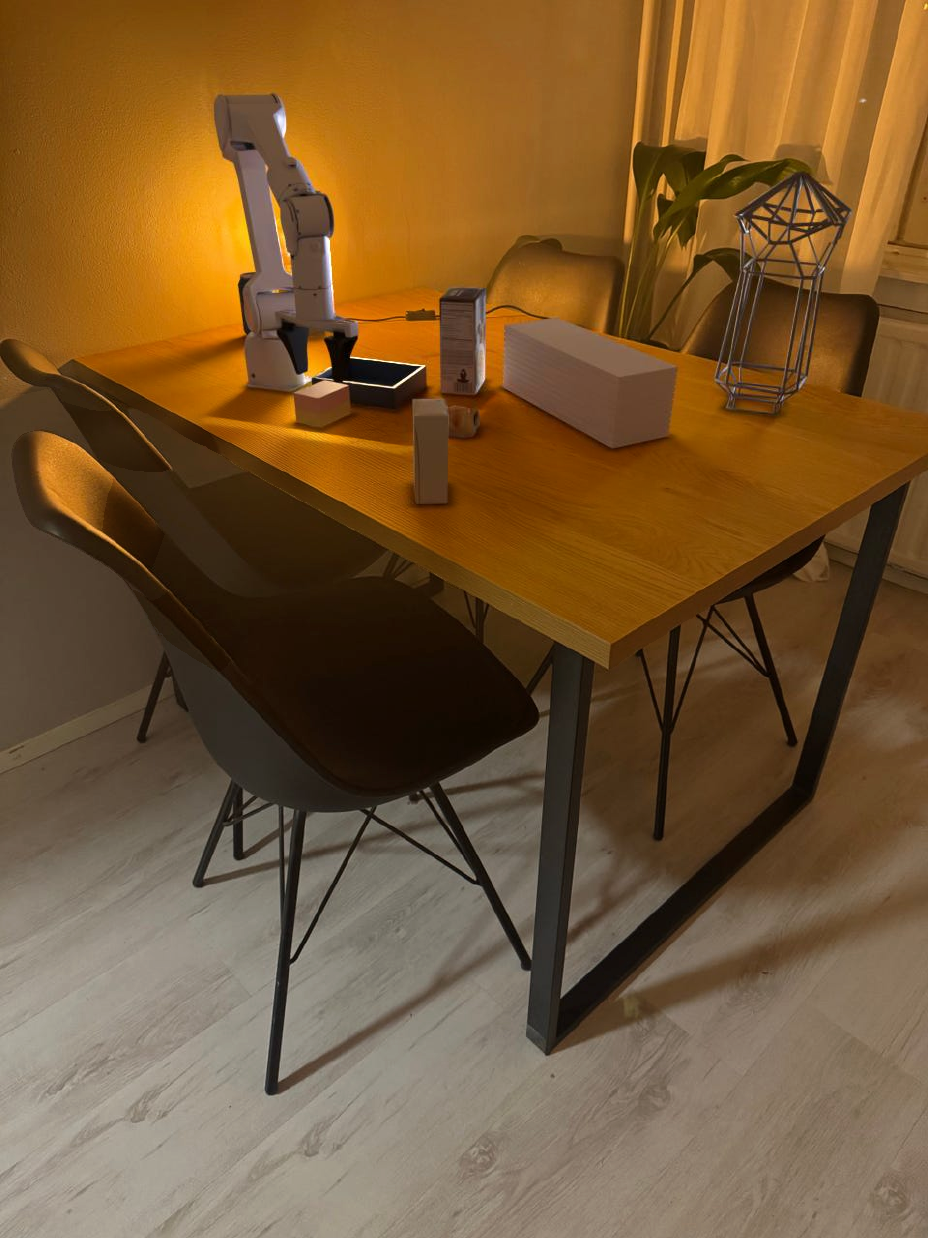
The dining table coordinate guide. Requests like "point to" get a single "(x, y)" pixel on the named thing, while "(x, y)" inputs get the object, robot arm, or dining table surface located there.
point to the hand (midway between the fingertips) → (320, 376)
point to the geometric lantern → (748, 216)
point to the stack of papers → (589, 381)
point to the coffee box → (462, 340)
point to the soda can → (243, 280)
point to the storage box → (379, 382)
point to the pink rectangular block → (322, 403)
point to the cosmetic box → (430, 450)
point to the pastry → (463, 421)
